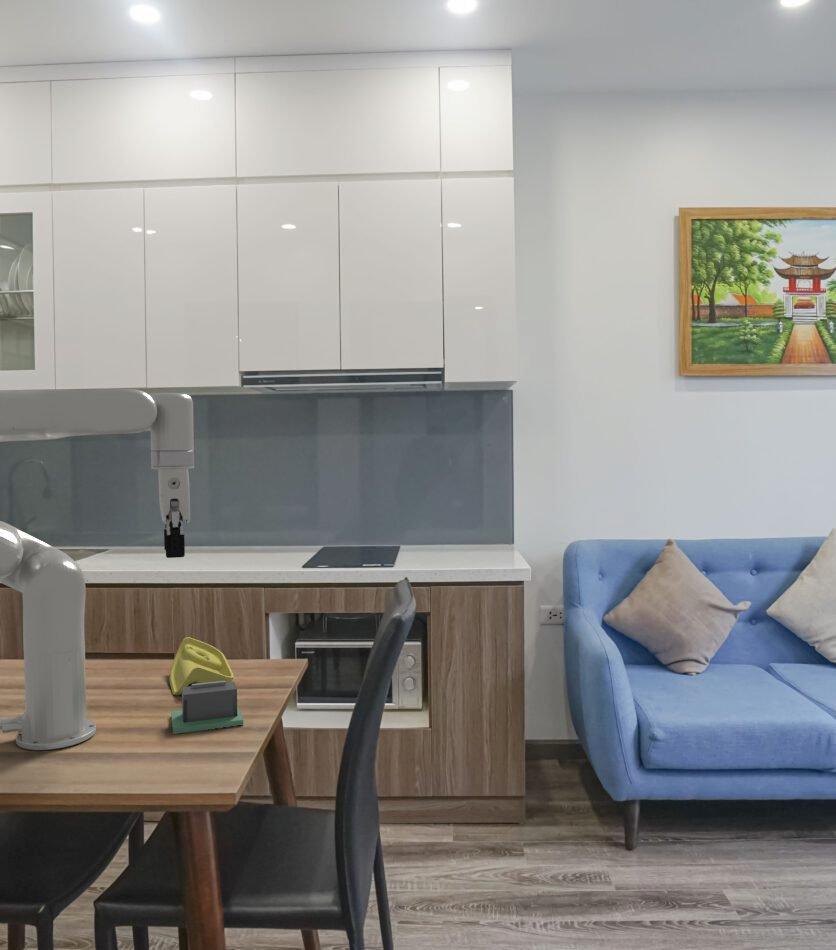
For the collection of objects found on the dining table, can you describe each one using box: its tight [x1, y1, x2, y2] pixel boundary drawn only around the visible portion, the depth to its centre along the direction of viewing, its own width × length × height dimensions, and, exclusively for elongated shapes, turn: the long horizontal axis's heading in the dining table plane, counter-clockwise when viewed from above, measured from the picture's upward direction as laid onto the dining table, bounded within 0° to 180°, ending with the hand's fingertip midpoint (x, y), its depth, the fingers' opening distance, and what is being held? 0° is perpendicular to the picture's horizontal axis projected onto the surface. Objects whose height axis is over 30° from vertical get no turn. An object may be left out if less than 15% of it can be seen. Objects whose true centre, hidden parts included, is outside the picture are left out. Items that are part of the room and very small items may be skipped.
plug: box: [181, 681, 238, 722], centre depth 141 cm, size 9×4×6 cm, turn 110°
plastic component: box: [169, 636, 235, 696], centre depth 165 cm, size 20×7×10 cm
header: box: [171, 703, 244, 735], centre depth 141 cm, size 12×9×4 cm
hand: (174, 553), depth 143 cm, fingers open, 9 cm apart
